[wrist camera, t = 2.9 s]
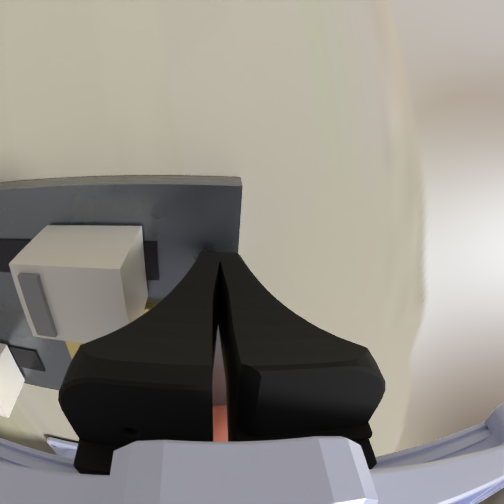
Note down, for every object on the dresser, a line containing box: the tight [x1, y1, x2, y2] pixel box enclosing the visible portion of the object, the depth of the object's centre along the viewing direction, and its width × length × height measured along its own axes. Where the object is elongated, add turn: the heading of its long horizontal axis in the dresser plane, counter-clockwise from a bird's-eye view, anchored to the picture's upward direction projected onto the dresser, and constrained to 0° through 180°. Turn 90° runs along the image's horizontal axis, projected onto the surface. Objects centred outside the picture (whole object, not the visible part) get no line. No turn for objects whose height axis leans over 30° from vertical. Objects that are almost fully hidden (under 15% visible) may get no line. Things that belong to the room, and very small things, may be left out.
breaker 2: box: [9, 225, 148, 343], centre depth 10 cm, size 3×4×3 cm
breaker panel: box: [0, 175, 242, 405], centre depth 13 cm, size 12×16×2 cm
